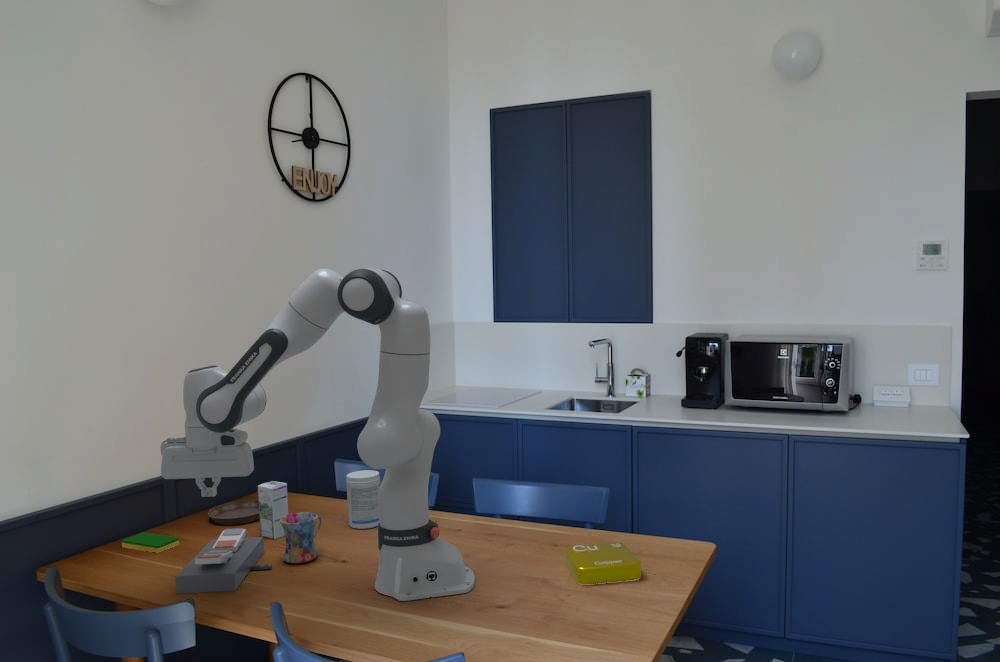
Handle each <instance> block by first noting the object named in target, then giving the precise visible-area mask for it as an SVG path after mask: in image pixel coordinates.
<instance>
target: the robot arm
mask: <svg viewBox="0 0 1000 662" xmlns="http://www.w3.org/2000/svg"><path fill="white" fill-rule="evenodd" d="M402 288H403V287H402V285H401V282H400V281H399V280H398V277H397V276H395V275H394V274H393V273H392V272H390V271H387V270H385V269H379V268H376V267H365V268H357V269H355V270H352V271H350V272H348V273H347V274H346V275H345V276H343V275H341V274H340V273H339V272H337V271H336V270H333V269H329V268H322V267H321V268H319V269H316V270H314V271H313V272H312V273H311V274H310V275H308V277H306V278H305V279H304V280H303V281H302V282H301V283H300V284H299V285H298V286H297V287H296V288H295V290H293V292H292V293H291V294H290V296H288V298H287V299H286V301H285V302H284V303H283V305H282V306H281V307H280V309H279V310H278V312H277V313H276V314H275V316H274V317H273V319H272V320H271V322H270V323H269V324H268V325H267V326H266V328H265V329H264V331H263V332H261V334H260V336H259V337H258V338H257V340H255V342H254V343H253V344H252V345H251V346H250V347H249V348H248V350H247V351H246V352H244V354H243V355H242V356H241V358H240V359H239V360H238V361H237V362H236V363H235V364H234V366H233V367H232V368H231V369H230V370H229V372H228V371H226V370H224V369H223V368H222V367H221V366H219V365H209V366H204V367H200V368H195V369H191V370H189V371H188V372H187V373H186V375H184V381H183V394H182V395H183V396H182V397H183V400H182V401H183V409H184V412H185V421H184V432H185V433H184V434H185V437H176V438H175V437H169V438H168V437H167V438H166V440H163V441H162V442H161V444H160V454H161V463H160V475H161V477H162V478H163V479H164V480H178V479H179V480H181V479H183V480H184V479H195V484H196V485H197V487H198V489H200V490H201V491H200V493H201V497H202V498H207V497H214V498H215V497H216V496H217V495H218V492H217V491H218V490H217V489H218V486H219V485H220V483H221V480H222V478H233V477H234V478H235V477H238V478H239V477H248V476H250V475H251V473H253V471H254V469H255V464H254V463H255V462H254V454H253V451H252V450H253V449H252V447H251V445H250V444H249V443H248V442H246V441H247V440H248V439H249V437H248V435H249V434H248V432H247V431H246V430H241V429H237V428H235V427H238V426H240V425H242V424H246V423H248V422H250V421H252V420H254V419H256V418H257V417H259V416H260V415H261V414H262V413H263V412H264V411H265V409H266V406H267V395H266V391H265V390H264V388H263V387H262V385H260V383H261V382H262V381H263V380H264V378H265V377H266V376H267V375H268V374H269V373H270V371H273V369H274V368H275V367H277V366H278V365H279V364H281V363H282V362H284V361H286V360H288V359H291V358H292V357H294V356H296V355H299V354H302V353H303V352H306V351H308V350H309V349H310V348H312V347H313V346H314V345H316V343H317V342H319V341H320V340H321V339H322V338H323V337H324V336H325V334H326V333H327V332H328V331H329V329H330V328H331V326H332V325H333V324H334V322H335V321H336V320H337V319H338V318H339V317H340V316H341V315H342V314H343V313H346V314H348V315H349V316H351V317H353V318H355V319H357V320H360V321H363V322H366V323H368V324H370V325H375V326H378V329H379V331H380V345H379V347H380V348H379V360H378V361H379V362H378V363H379V364H378V379H377V380H378V381H377V385H376V386H377V387H376V391H375V392H376V393H375V395H374V399H373V403H372V405H371V406H372V407H371V410H370V413H369V416H368V419H367V422H366V424H365V426H364V427H363V428H362V430H361V432H360V433H359V435H358V438H357V441H356V444H357V445H356V447H357V452H358V455H359V457H360V459H361V461H362V462H363V463H364V464H365V465H366V466H368V467H370V468H372V469H375V470H385V472H384V476H383V477H382V478H383V479H382V481H380V483H381V484H380V487H379V490H378V502H379V524H378V526H377V531H376V532H377V533H376V535H377V536H376V537H377V547H378V551H379V554H378V568H377V574H376V577H375V583H374V589H375V591H377V592H378V593H380V594H383V595H384V596H390V597H392V598H394V599H396V601H398V602H399V601H400V602H407V601H414V600H423V599H429V598H430V597H431V598H438V597H445V596H452V595H454V596H455V595H459V594H467V593H469V592H470V591H471V590H472V589H473V588H474V587H475V583H476V580H475V578H476V577H475V573H474V571H473V569H472V568H470V567H468V566H466V565H465V562H464V558H463V556H462V553H461V551H460V550H459V549H458V548H457V547H456V546H455V545H452V544H451V543H449V542H448V541H446V540H445V539H443V538H442V537H440V534H441V531H440V528H439V525H438V522H437V520H434V521H433V520H431V519H430V518H429V517H430V515H429V514H430V513H429V481H430V475H431V470H432V464H433V457H434V452H435V448H436V445H437V442H438V440H439V438H440V437H441V436H440V435H441V425H440V422H439V419H438V418H437V417H436V415H435V414H434V413H433V412H431V411H429V410H427V409H425V408H420V407H421V404H422V402H423V399H424V397H425V394H426V393H427V391H428V388H429V384H430V383H429V381H430V366H431V365H430V364H431V363H430V361H431V329H430V328H431V327H430V319H429V315H428V311H427V310H426V308H425V307H424V306H423V305H421V304H420V303H417V302H415V301H410V300H404V299H402V296H403V289H402ZM207 478H209V479H211V482H212V483H213V485H212V487H207V486H206V483H205V482H204V481H205V480H206V479H207Z"/></svg>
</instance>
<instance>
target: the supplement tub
mask: <svg viewBox="0 0 1000 662" xmlns="http://www.w3.org/2000/svg"><path fill="white" fill-rule="evenodd" d="M345 481H346V483H345V484H346V499H347V501H346V502H347V503H346V504H347V515H348V525H349V527H350V528H353V529H359V530H364V529H365V530H368V529H372V528H375V527H378V524H379V502H378V490H379V487H380V484H381V477H380V472H379V471H377V470H369V469H368V470H367V469H366V470H365V469H364V470H357V471H352V472H349V473H347V474H346V480H345Z"/></svg>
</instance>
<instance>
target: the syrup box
mask: <svg viewBox="0 0 1000 662" xmlns="http://www.w3.org/2000/svg"><path fill="white" fill-rule="evenodd" d="M257 495H258V500H259V515H260V519H259V526H260V529H259V530H260V537H263V538H266V539H272V540H277V539H281V538H283V537H285V533H284V530H283V527H282V525H281V523H280V518H282V517H283V516H286V515H289V501H288V483H287V482H280V481H274V480H271V481H267V482H264V483H261V484H259V485H257Z"/></svg>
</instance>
